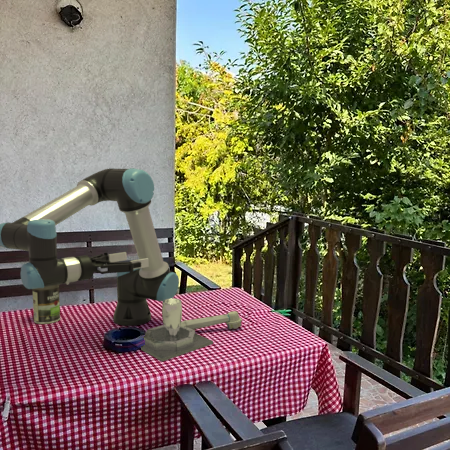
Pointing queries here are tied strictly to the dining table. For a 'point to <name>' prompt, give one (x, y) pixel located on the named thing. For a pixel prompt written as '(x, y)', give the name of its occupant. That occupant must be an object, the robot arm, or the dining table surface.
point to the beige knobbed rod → (214, 321)
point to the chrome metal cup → (172, 318)
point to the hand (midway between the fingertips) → (136, 259)
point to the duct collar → (172, 343)
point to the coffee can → (46, 304)
